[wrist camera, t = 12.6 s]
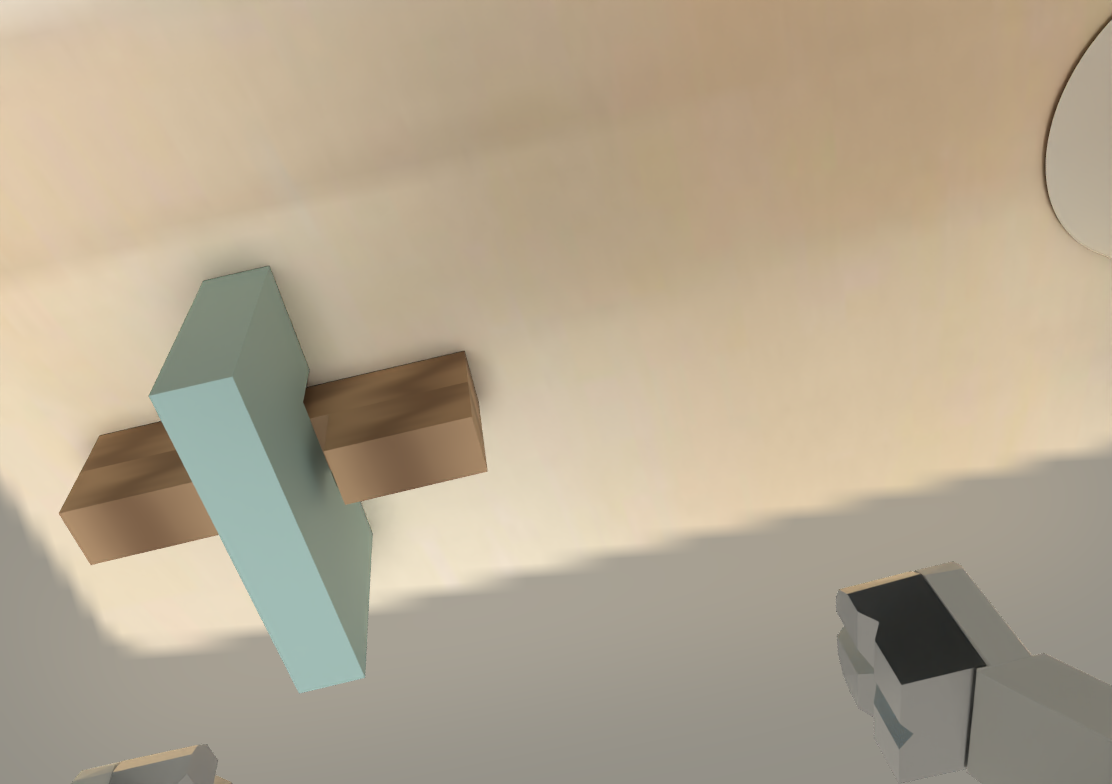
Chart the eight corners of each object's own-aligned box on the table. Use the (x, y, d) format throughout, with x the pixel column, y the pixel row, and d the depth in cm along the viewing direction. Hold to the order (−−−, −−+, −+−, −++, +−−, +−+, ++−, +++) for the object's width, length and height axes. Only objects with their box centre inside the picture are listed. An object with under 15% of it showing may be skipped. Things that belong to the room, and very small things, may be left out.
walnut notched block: (464, 350, 44) (471, 416, 39) (478, 401, 46) (487, 471, 40) (99, 435, 44) (58, 513, 38) (126, 484, 45) (90, 564, 40)
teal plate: (269, 265, 40) (232, 376, 32) (372, 533, 49) (364, 677, 40) (203, 280, 40) (148, 395, 32) (318, 546, 49) (299, 693, 40)
